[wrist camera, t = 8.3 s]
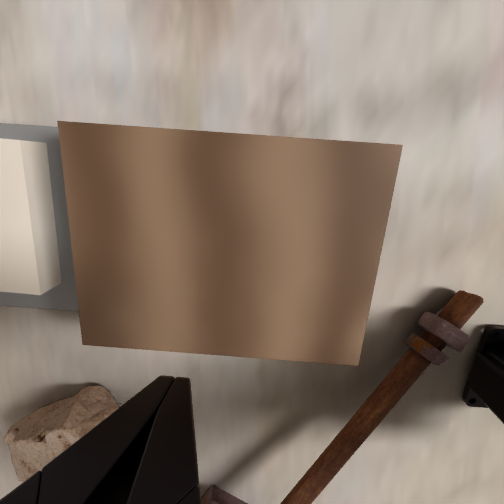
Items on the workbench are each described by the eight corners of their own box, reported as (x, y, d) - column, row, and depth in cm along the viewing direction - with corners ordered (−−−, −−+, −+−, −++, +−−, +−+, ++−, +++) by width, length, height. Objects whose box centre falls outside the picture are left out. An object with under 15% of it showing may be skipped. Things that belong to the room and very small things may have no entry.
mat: (93, 129, 17) (90, 129, 17) (108, 311, 21) (106, 313, 21) (-73, 118, 18) (-78, 117, 17) (-31, 300, 21) (-35, 302, 21)
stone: (128, 374, 23) (93, 430, 18) (160, 483, 26) (137, 554, 21) (20, 383, 23) (-42, 439, 19) (64, 488, 26) (21, 558, 22)
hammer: (157, 552, 26) (116, 759, 16) (380, 251, 24) (487, 277, 14) (220, 582, 27) (218, 795, 17) (438, 296, 25) (575, 349, 15)
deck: (371, 149, 17) (402, 145, 14) (340, 328, 21) (358, 365, 17) (102, 130, 17) (57, 120, 14) (115, 311, 21) (82, 344, 17)
